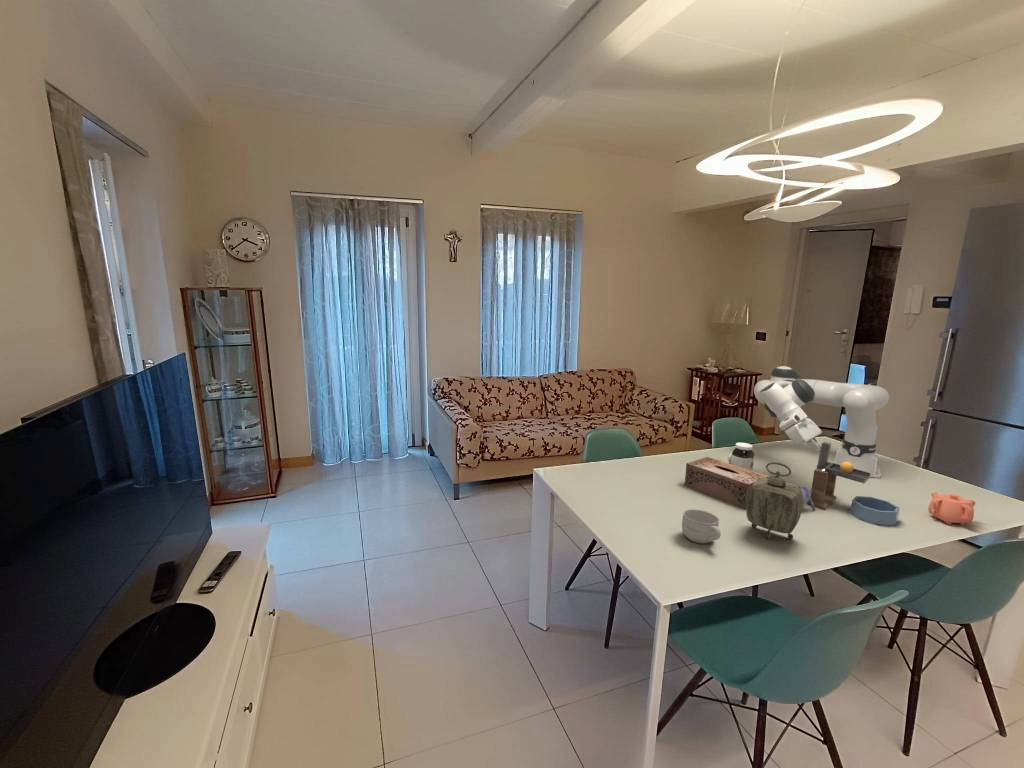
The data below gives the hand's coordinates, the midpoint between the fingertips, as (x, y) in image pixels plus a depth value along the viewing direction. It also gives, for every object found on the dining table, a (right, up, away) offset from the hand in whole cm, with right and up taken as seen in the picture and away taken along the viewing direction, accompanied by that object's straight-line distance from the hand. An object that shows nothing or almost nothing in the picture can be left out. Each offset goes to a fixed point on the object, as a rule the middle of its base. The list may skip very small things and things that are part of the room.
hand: (819, 449), depth 174 cm
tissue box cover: (-32, -19, +9) cm, 38 cm away
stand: (+2, -20, +2) cm, 20 cm away
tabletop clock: (-33, -25, -25) cm, 48 cm away
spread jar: (-13, -14, +36) cm, 41 cm away
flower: (-10, -21, -4) cm, 24 cm away
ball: (+6, -6, -6) cm, 10 cm away
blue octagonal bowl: (+12, -22, -10) cm, 28 cm away
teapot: (+38, -23, -11) cm, 46 cm away
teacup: (-56, -25, -28) cm, 68 cm away
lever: (+5, -9, -4) cm, 11 cm away
